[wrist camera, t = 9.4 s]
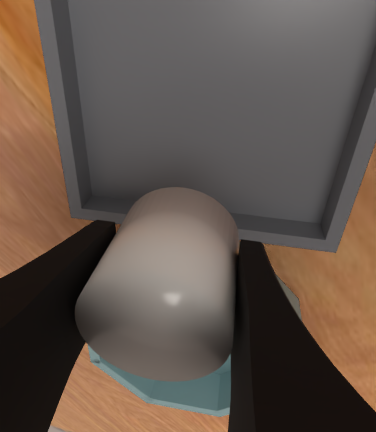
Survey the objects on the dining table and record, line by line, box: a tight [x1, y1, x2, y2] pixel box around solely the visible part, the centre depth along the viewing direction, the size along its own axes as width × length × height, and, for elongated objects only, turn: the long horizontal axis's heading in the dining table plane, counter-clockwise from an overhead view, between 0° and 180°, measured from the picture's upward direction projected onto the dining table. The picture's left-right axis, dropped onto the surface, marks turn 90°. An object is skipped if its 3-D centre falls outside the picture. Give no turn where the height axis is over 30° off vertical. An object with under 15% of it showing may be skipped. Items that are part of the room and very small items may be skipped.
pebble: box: [75, 187, 239, 382], centre depth 10 cm, size 4×4×4 cm
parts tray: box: [34, 0, 376, 253], centre depth 15 cm, size 14×16×2 cm
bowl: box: [88, 242, 302, 417], centre depth 23 cm, size 13×13×4 cm
